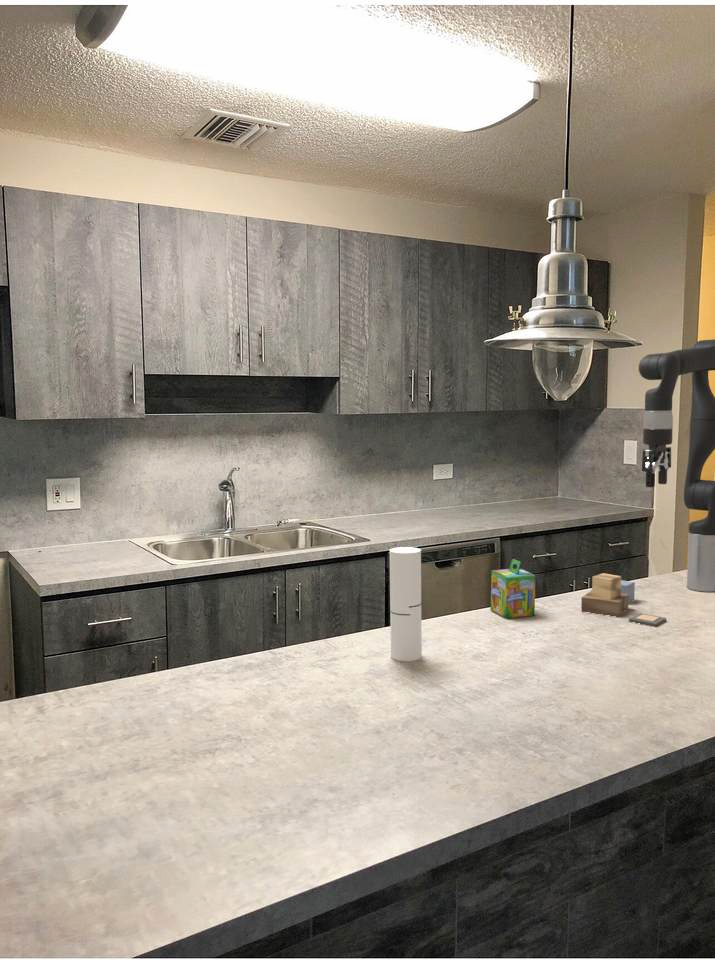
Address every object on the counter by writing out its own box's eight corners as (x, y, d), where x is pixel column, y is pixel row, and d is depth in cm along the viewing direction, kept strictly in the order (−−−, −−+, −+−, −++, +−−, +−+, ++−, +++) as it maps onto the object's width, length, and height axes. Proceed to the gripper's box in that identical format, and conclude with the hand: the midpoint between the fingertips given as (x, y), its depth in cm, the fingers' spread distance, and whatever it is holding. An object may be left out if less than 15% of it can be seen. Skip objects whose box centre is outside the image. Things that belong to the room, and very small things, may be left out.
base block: (592, 604, 219) (592, 589, 218) (628, 609, 213) (628, 594, 213) (581, 613, 211) (581, 597, 210) (618, 618, 205) (618, 602, 205)
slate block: (616, 597, 225) (616, 579, 225) (634, 600, 221) (634, 582, 221) (607, 601, 221) (608, 582, 221) (626, 604, 217) (626, 585, 217)
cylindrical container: (427, 658, 175) (426, 551, 172) (398, 663, 172) (397, 554, 170) (413, 649, 182) (412, 546, 179) (385, 653, 179) (384, 548, 176)
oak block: (602, 592, 215) (603, 573, 214) (620, 595, 211) (621, 576, 210) (592, 596, 211) (592, 576, 211) (610, 599, 207) (610, 579, 207)
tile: (640, 616, 206) (640, 612, 206) (666, 620, 201) (666, 617, 201) (628, 621, 201) (629, 618, 201) (655, 626, 196) (655, 623, 196)
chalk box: (489, 610, 213) (490, 558, 212) (519, 607, 216) (519, 556, 215) (505, 619, 205) (506, 565, 203) (536, 616, 207) (536, 562, 206)
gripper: (654, 425, 218) (653, 482, 220) (633, 428, 208) (632, 487, 210) (681, 426, 213) (679, 484, 215) (661, 428, 203) (659, 489, 204)
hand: (656, 485), depth 212 cm, fingers open, 8 cm apart
